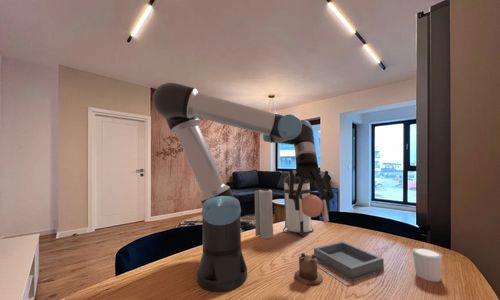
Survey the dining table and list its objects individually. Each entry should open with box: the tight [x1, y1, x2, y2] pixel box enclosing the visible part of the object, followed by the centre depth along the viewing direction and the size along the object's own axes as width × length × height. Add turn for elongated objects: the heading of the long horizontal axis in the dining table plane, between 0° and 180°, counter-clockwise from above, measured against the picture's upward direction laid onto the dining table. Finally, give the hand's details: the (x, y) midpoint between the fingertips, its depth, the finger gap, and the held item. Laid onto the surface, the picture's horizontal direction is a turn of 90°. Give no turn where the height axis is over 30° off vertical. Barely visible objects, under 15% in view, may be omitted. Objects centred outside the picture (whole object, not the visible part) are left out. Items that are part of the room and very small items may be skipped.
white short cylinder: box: [412, 247, 443, 282], centre depth 63 cm, size 7×7×7 cm
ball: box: [302, 194, 323, 218], centre depth 68 cm, size 7×7×7 cm
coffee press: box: [282, 174, 314, 238], centre depth 106 cm, size 17×16×30 cm
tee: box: [294, 252, 324, 286], centre depth 64 cm, size 8×8×6 cm
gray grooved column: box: [254, 189, 274, 240], centre depth 99 cm, size 7×6×21 cm
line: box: [317, 263, 351, 286], centre depth 69 cm, size 1×20×1 cm, turn 25°
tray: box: [313, 241, 385, 282], centre depth 72 cm, size 14×16×4 cm
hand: (313, 221), depth 65 cm, fingers closed on ball, 7 cm apart
